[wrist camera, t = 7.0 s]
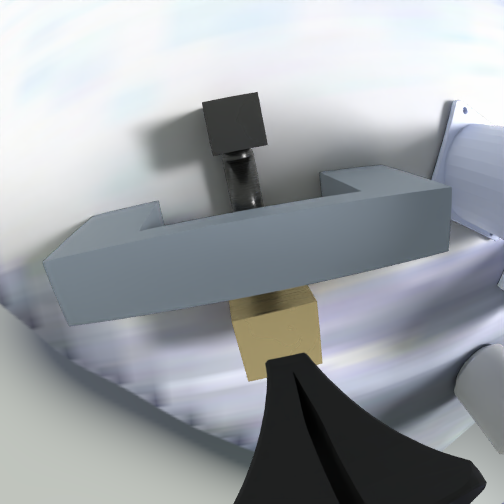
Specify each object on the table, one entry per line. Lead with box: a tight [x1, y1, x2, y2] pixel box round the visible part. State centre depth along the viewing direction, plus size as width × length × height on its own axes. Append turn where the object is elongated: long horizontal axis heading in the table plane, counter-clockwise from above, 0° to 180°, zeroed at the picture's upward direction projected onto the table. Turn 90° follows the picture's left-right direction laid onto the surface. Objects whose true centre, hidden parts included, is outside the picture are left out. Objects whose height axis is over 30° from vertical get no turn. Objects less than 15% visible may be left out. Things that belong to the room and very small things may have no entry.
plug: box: [202, 92, 322, 381], centre depth 16 cm, size 14×4×5 cm, turn 11°
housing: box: [43, 165, 452, 326], centre depth 15 cm, size 3×17×7 cm, turn 99°
